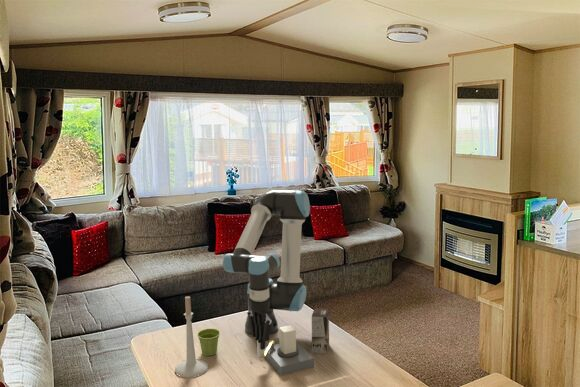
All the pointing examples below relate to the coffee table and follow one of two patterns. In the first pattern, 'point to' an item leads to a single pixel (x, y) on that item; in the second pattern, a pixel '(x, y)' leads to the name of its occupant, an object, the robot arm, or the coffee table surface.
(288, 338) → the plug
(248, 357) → the coffee table surface
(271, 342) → the tan long thin stick
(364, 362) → the coffee table surface
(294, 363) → the socket
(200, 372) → the candlestick
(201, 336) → the plant pot
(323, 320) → the coffee box
